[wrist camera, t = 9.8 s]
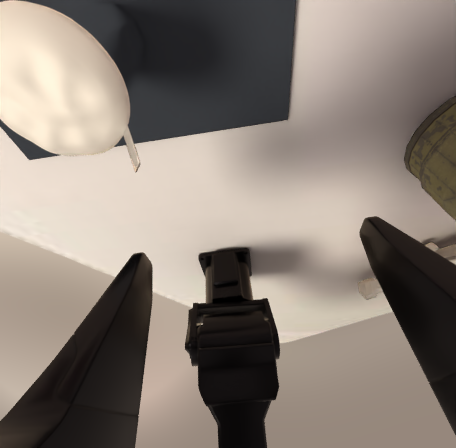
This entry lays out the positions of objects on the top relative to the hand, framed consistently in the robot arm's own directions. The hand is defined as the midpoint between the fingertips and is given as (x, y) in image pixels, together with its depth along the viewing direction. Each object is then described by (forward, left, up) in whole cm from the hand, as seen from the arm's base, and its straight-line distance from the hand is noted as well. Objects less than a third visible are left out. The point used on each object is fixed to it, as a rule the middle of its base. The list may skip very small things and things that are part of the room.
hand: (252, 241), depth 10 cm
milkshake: (+5, +6, -11) cm, 14 cm away
